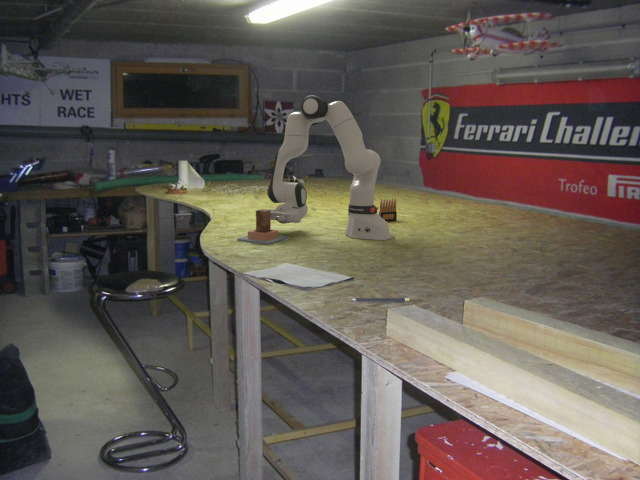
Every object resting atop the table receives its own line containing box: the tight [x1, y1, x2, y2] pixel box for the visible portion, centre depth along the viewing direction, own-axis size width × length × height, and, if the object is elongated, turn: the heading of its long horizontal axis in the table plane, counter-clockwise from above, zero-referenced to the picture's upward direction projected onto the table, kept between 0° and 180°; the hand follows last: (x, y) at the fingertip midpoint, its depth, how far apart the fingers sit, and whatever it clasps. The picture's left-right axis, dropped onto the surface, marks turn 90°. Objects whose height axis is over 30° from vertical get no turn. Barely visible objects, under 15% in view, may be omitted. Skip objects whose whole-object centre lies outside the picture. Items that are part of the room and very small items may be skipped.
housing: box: [236, 228, 289, 246], centre depth 272 cm, size 16×16×4 cm
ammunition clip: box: [378, 198, 398, 223], centre depth 330 cm, size 11×2×12 cm, turn 120°
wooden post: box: [255, 208, 272, 233], centre depth 271 cm, size 4×4×12 cm
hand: (268, 217), depth 274 cm, fingers open, 8 cm apart
